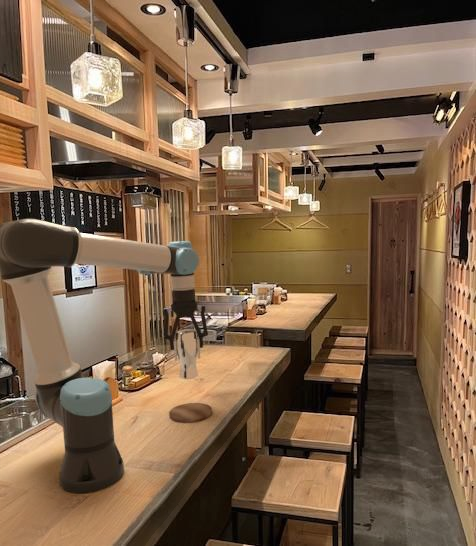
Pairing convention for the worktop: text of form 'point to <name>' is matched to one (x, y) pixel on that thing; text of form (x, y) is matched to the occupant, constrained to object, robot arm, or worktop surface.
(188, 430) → the worktop surface
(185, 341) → the beer glass
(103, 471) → the robot arm
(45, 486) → the worktop surface
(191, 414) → the walnut coaster board
